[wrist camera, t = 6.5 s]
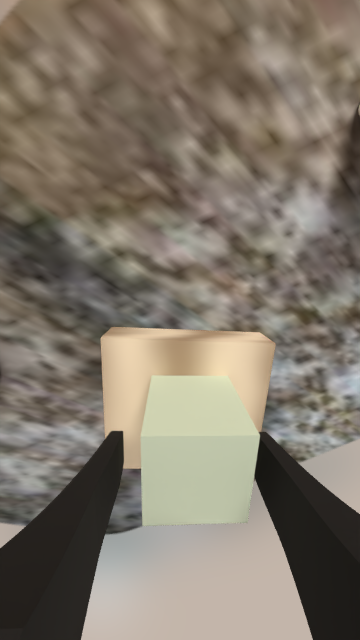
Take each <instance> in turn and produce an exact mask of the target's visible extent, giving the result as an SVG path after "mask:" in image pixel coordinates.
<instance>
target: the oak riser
mask: <svg viewBox="0 0 360 640" xmlns="http://www.w3.org/2000/svg"><path fill="white" fill-rule="evenodd" d="M275 345H276V344H275V343H274V342H272V341H271V340H270V339H268V338H267V337H265V336H264V335H263V334H261V333H260V332H233V331H206V330H178V329H151V328H124V327H112V328H111V329H110V330H109V331H108V332H106V333H105V334H104V335H103V336H102V337H101V355H102V378H103V400H104V423H105V439H106V437H107V436H108V434H109V433H110V432H111V431H123V440H124V465H123V469H141V432H142V426H143V421H144V415H145V410H146V404H147V398H148V393H149V387H150V382H151V376H152V375H165V376H228V377H229V379H230V381H231V382H232V384H233V386H234V388H235V390H236V392H237V393H238V395H239V397H240V399H241V401H242V403H243V405H244V406H245V408H246V410H247V412H248V414H249V416H250V418H251V419H252V421H253V423H254V425H255V427H256V429H257V431H258V432H261V428H262V422H263V416H264V411H265V405H266V399H267V393H268V387H269V381H270V375H271V369H272V363H273V357H274V351H275Z"/></svg>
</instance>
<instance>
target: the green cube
mask: <svg viewBox="0 0 360 640" xmlns="http://www.w3.org/2000/svg"><path fill="white" fill-rule="evenodd" d="M259 440H260V434H259V432H258V431H257V429H256V427H255V425H254V423H253V421H252V419H251V418H250V416H249V414H248V412H247V410H246V408H245V406H244V405H243V403H242V401H241V399H240V397H239V395H238V393H237V392H236V390H235V388H234V386H233V384H232V382H231V381H230V379H229V377H228V376H165V375H152V376H151V382H150V387H149V393H148V398H147V404H146V410H145V415H144V421H143V426H142V432H141V484H142V526H157V525H190V524H220V523H221V524H222V523H247V522H248V515H249V508H250V501H251V494H252V488H253V481H254V474H255V467H256V460H257V453H258V446H259Z"/></svg>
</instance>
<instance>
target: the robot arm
mask: <svg viewBox="0 0 360 640" xmlns="http://www.w3.org/2000/svg"><path fill="white" fill-rule="evenodd" d="M259 434H260V440H259V446H258V453H257V460H256V467H255V474H254V476H255V479H256V482H257V485H258V487H259V490H260V492H261V495H262V497H263V500H264V502H265V505H266V507H267V509H268V512H269V514H270V517H271V519H272V521H273V524H274V526H275V529H276V531H277V533H278V536H279V538H280V541H281V543H282V546H283V548H284V551H285V554H286V557H287V560H288V563H289V566H290V569H291V572H292V575H293V578H294V581H295V583H296V587H297V590H298V593H299V596H300V599H301V603H302V606H303V609H304V612H305V615H306V618H307V622H308V625H309V628H310V632H311V635H312V638H313V640H360V514H359V513H357V512H356V511H355V510H353V509H352V508H351V507H349V506H348V505H347V504H345V503H344V502H343V501H341V500H340V499H339V498H338V497H336V496H335V495H334V494H333V493H331V492H330V491H329V490H328V489H327V488H325V487H324V486H323V485H322V484H320V482H318V481H317V480H316V479H315V478H314V477H313V476H312V475H310V474H309V473H308V472H307V471H306V470H305V469H304V468H303V467H302V466H300V465H299V464H298V463H297V462H296V461H295V460H294V459H293V458H292V457H291V456H290V455H289V454H288V453H287V452H286V451H285V450H284V449H283V448H282V447H281V446H280V445H279V444H278V443H277V442H276V441H275V440H274V439H273V438H272V437H271V436H270V435H269V434H268V433H266V432H259ZM123 465H124V440H123V431H111V432H110V433H109V434H108V436H107V437H106V439H105V440H104V441H103V443H102V444H101V445H100V447H99V448H98V449H97V451H96V452H95V453H94V455H93V456H92V457H91V458H90V460H89V461H88V462H87V463H86V465H85V466H84V467H83V468H82V469H81V471H80V472H79V473H78V474H77V475H76V476H75V477H74V479H73V480H72V481H71V482H70V483H69V484H68V485H67V486H66V488H65V489H64V490H63V491H62V492H61V493H60V494H59V495H58V496H57V497H56V498H55V499H54V500H53V501H52V502H51V503H50V504H49V505H48V506H47V507H46V508H45V509H44V510H43V511H42V512H41V513H40V514H39V515H38V516H37V517H36V518H34V519H33V520H32V521H31V522H30V523H29V524H28V525H27V526H26V527H25V528H24V529H22V530H21V531H20V532H19V533H18V534H17V535H16V536H15V537H13V538H12V539H11V540H10V541H9V542H7V543H6V544H5V545H4V546H3V547H2V548H0V640H81V636H82V631H83V626H84V622H85V617H86V613H87V608H88V602H89V599H90V594H91V589H92V584H93V580H94V576H95V571H96V566H97V562H98V558H99V554H100V550H101V546H102V543H103V539H104V536H105V532H106V529H107V526H108V522H109V519H110V516H111V512H112V509H113V506H114V502H115V499H116V495H117V492H118V489H119V485H120V480H121V475H122V470H123Z"/></svg>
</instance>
